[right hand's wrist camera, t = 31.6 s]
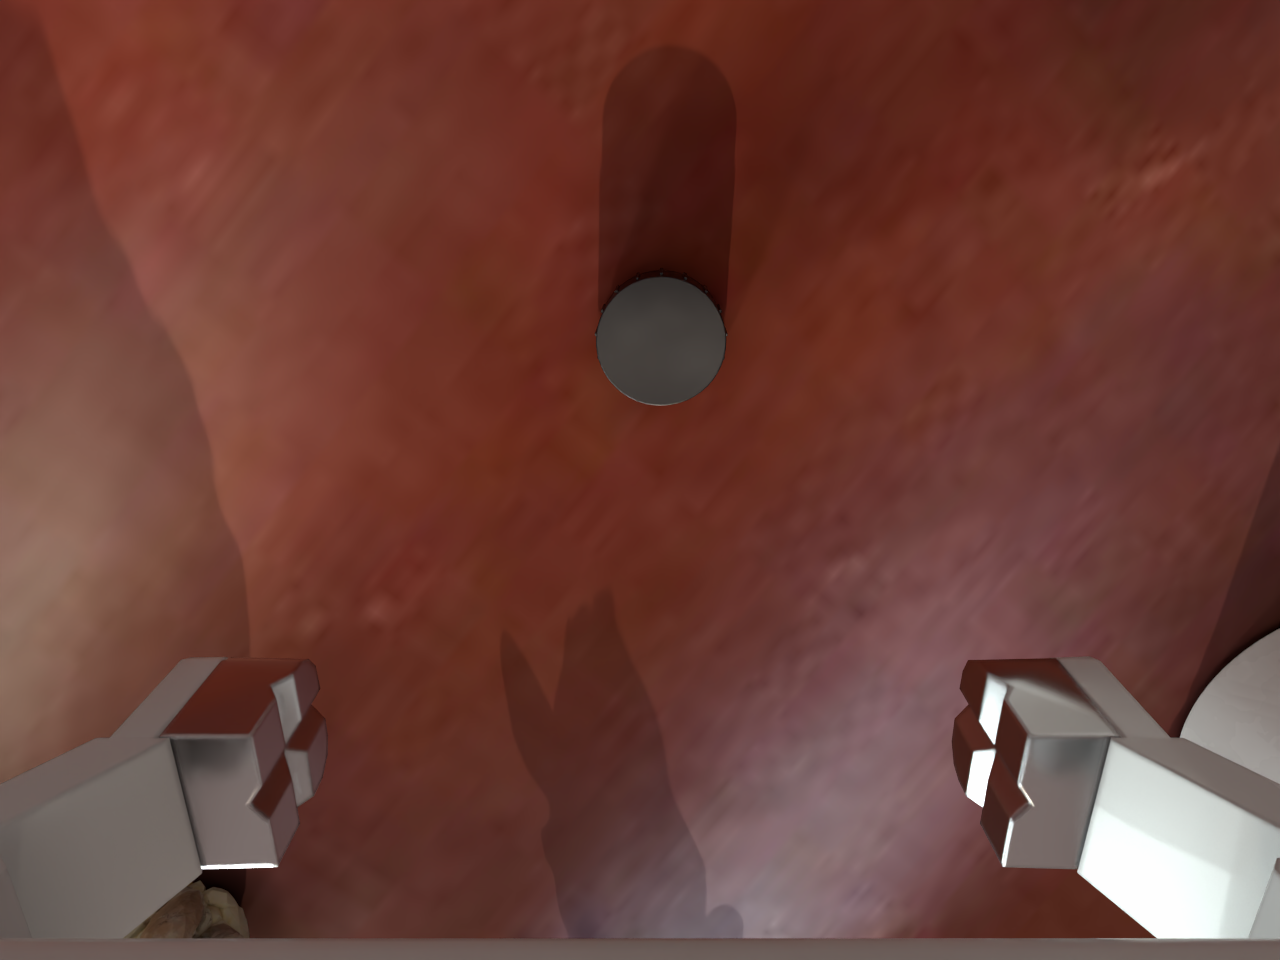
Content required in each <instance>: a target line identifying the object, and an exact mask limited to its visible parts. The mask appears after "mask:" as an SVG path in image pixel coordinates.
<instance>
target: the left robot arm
mask: <svg viewBox="0 0 1280 960" xmlns="http://www.w3.org/2000/svg"><path fill="white" fill-rule="evenodd" d="M1180 738H1185V739H1187V740H1189V741H1191V742H1193V743H1195V744H1198V745H1200V746H1202V747H1204V748H1206V749H1208V750H1210V751H1212V752H1214V753H1216V754H1218V755H1220V756H1222V757H1224V758H1227V759H1229V760H1231V761H1233V762H1235V763H1237V764H1239V765H1241V766H1243V767H1245V768H1247V769H1249V770H1251V771H1253V772H1256V773H1258V774H1260V775H1262V776H1264V777H1266V778H1268V779H1270V780H1272V781H1274V782H1276V783H1278V784H1280V629H1278V630H1276V631H1274V632H1272V633H1270V634H1269V635H1267V636H1265V637H1264V638H1262V639H1260V640H1259V641H1257V642H1256V643H1254V644H1253V645H1251V646H1250V647H1248V648H1247V649H1246V650H1244V651H1243V652H1242V653H1240V654H1239V655H1238V656H1237V657H1235V658H1234V659H1233V660H1232V661H1231V662H1230V663H1229V664H1228V665H1226V666H1225V667H1224V668H1223V669H1222V670H1221V671H1220V672H1219V673H1218V674H1217V675H1216V676H1215V678H1214V679H1213V680H1212V681H1211V682H1210V683H1209V684H1208V686H1207V687H1206V688H1205V690H1204V691H1203V692H1202V693H1201V695H1200V696H1199V698H1198V699H1197V701H1196V702H1195V704H1194V706H1193V708H1192V709H1191V711H1190V713H1189V715H1188V717H1187V719H1186V721H1185V724H1184V726H1183V729H1182V732H1181V735H1180Z"/></svg>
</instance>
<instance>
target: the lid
mask: <svg viewBox="0 0 1280 960" xmlns="http://www.w3.org/2000/svg"><path fill="white" fill-rule="evenodd" d="M601 312H602V316H601V318H600V321H599V324H598V327H597V330H596V332H595V336H596V347H597V354H598V359H599V362H600V364H601V367H602V369H603V371H604V373H605V374H606V376H607V378H608V379H609V380H610V381H611V383H612V384H613V385H614V386H615V387H616V388H617V389H618V390H619V391H621V392H622V393H623V394H625V395H626V396H628V397H630V398H632V399H634V400H636V401H638V402H642V403H645V404H650V405H672V404H676V403H680V402H683V401H686V400H688V399H690V398H692V397H694V396H696V395H697V394H699V393H700V392H701V391H703V390H704V389H705V388H706V387H707V386H708V385H709V384H710V383H711V381H712V380H713V379H714V377H715V376H716V374H717V373H718V371H719V369H720V367H721V365H722V362H723V360H724V358H725V357H724V355H725V350H726V336H727V331H726V328H725V327H724V323H723V320H722V317H721V314H720V313H721V312H722V311H721V308H720V305H719V304H716V302H715V300H714V299H713V297H712V296H711V295H710V293H709V292H708V290H707V287H706V286H705V285H704V286H702V285H701V284H699V283H698V282H697V281H695V280H694V279H692V278H690V277H688V276H687V274H686V273H683V274H681V273H677V272H673V271H663V268H660V270H658V271H650V272H646V273H642V274H640V273H637V274H636V276H635V277H633V278H631V279H629V280H628V281H626V282H625V283H624V284H622V285H621V286H619V285H618V286H617V287H616V290H615V292H614V293H613V295H612V296H611V297H610V299H609V300H608V302H607V304H604V305H603V307H602V310H601Z"/></svg>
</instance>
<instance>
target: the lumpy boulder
mask: <svg viewBox="0 0 1280 960" xmlns="http://www.w3.org/2000/svg"><path fill="white" fill-rule="evenodd" d="M124 938H249V929H248V924H247V919H246V918H245V914H244V911H243V908H241V907H239V906H238V904H237V902H236V901H235V899H234V898H233V897H232V895H231V894H230V893H229V892H228V891H226V890H223V889H221V888H216V887H212V888H210V889H208V890H206V887H205V886H204V885H203V883H202V882H201V881H198V882H195V883H192V882H191V883H190V884H189V885H187V886H186V887H185V888H184V889H182V890H181V891H180V892H179V893H178V894H176V895H175V896H174V897H173V898H171V899H170V900H169V901H168V902H167V903H165V904H164V905H163V906H162V907H160V908H159V909H158V910H157V911H156V912H154V913H153V914H152V915H151V916H149V917H148V918H147V919H146V920H145V921H143V922H142V923H141V924H140V925H139V926H137V927H136V928H135V929H134V930H132V931H131V932H130V933H129V934H128V935H126V936H125V937H124Z"/></svg>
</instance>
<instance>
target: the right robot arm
mask: <svg viewBox="0 0 1280 960" xmlns="http://www.w3.org/2000/svg"><path fill="white" fill-rule="evenodd" d="M319 690H320V685H319V680H318V675H317V670H316V666H315V665H314V664H313V663H312V662H311V661H310V660H309V659H290V658H241V657H231V658H227V657H191V658H187V659H183V660H181V661H180V662H179V663H178V664H177V665H176V666H175V667H174V668H173V669H172V670H171V671H170V672H169V674H168V675H167V676H166V677H165V678H164V679H163V680H162V681H161V682H160V683H159V684H158V686H157V687H156V688H155V689H154V690H153V691H152V692H151V693H150V694H149V695H148V696H147V698H146V699H145V700H144V701H143V702H142V703H141V704H140V705H139V706H138V707H137V708H136V709H135V711H134V712H133V713H132V714H131V715H130V716H129V717H128V718H127V719H126V720H125V721H124V723H123V724H122V725H121V726H120V727H119V728H118V729H117V730H116V731H115V732H114V733H113V735H112V736H111V737H110V738H95V739H93V740H91V741H89V742H87V743H85V744H82V745H80V746H78V747H76V748H74V749H72V750H70V751H68V752H66V753H64V754H62V755H60V756H57V757H55V758H53V759H51V760H49V761H47V762H45V763H43V764H41V765H39V766H37V767H35V768H33V769H30V770H28V771H26V772H24V773H22V774H20V775H18V776H16V777H14V778H12V779H10V780H8V781H6V782H3V783H1V784H0V960H1280V784H1278V783H1276V782H1274V781H1272V780H1270V779H1268V778H1266V777H1264V776H1262V775H1260V774H1258V773H1256V772H1253V771H1251V770H1249V769H1247V768H1245V767H1243V766H1241V765H1239V764H1237V763H1235V762H1233V761H1231V760H1229V759H1227V758H1224V757H1222V756H1220V755H1218V754H1216V753H1214V752H1212V751H1210V750H1208V749H1206V748H1204V747H1202V746H1200V745H1198V744H1195V743H1193V742H1191V741H1189V740H1187V739H1185V738H1170V737H1169V736H1168V735H1167V734H1166V732H1165V731H1164V730H1163V729H1162V728H1161V727H1160V726H1159V725H1158V724H1157V723H1156V721H1155V720H1154V719H1153V718H1152V717H1151V716H1150V715H1149V714H1148V713H1147V712H1146V711H1145V709H1144V708H1143V707H1142V706H1141V705H1140V704H1139V703H1138V702H1137V701H1136V700H1135V699H1134V697H1133V696H1132V695H1131V694H1130V693H1129V692H1128V691H1127V690H1126V689H1125V688H1124V687H1123V685H1122V684H1121V683H1120V682H1119V681H1118V680H1117V679H1116V678H1115V677H1114V676H1113V675H1112V673H1111V672H1110V671H1109V670H1108V669H1107V668H1106V667H1105V666H1104V665H1103V664H1102V663H1101V661H1099V660H1097V659H1094V658H1092V657H1090V656H1089V657H1061V658H1046V659H999V660H968V662H967V664H966V666H965V668H964V670H963V673H962V679H961V684H960V690H961V692H962V693H963V695H964V697H965V699H966V700H967V702H968V704H969V705H968V706H967V707H966V708H965V709H964V710H963V711H962V712H961V713H960V714H959V715H958V716H957V717H956V718H955V720H954V728H953V736H952V749H953V760H954V766H955V770H956V773H957V777H958V780H959V782H960V784H961V786H962V788H963V790H964V792H965V795H966V796H967V797H969V798H970V799H972V800H973V801H975V802H976V803H977V804H979V805H980V806H982V807H983V810H982V815H981V821H980V824H981V826H982V828H983V830H984V832H985V834H986V836H987V838H988V840H989V842H990V843H991V845H992V847H993V849H994V851H995V853H996V855H997V857H998V859H999V861H1000V863H1001V865H1002V867H1019V868H1055V869H1078V872H1077V873H1078V874H1080V875H1081V876H1082V877H1083V878H1085V879H1086V880H1087V881H1088V882H1089V883H1091V884H1092V885H1093V886H1094V887H1095V888H1097V889H1098V890H1099V891H1100V892H1102V893H1103V894H1104V895H1105V896H1106V897H1108V898H1109V899H1110V900H1111V901H1113V902H1114V903H1115V904H1116V905H1117V906H1119V907H1120V908H1121V909H1122V910H1123V911H1125V912H1126V913H1127V914H1128V915H1130V916H1131V917H1132V918H1133V919H1134V920H1136V921H1137V922H1138V923H1139V924H1141V925H1142V926H1143V927H1144V928H1145V929H1147V930H1148V931H1149V932H1150V933H1151V934H1153V935H1154V936H1155V937H1156V938H892V939H544V938H124V937H125V936H126V935H128V934H129V933H130V932H131V931H132V930H134V929H135V928H136V927H137V926H139V925H140V924H141V923H142V922H143V921H145V920H146V919H147V918H148V917H149V916H151V915H152V914H153V913H154V912H156V911H157V910H158V909H159V908H160V907H162V906H163V905H164V904H165V903H167V902H168V901H169V900H170V899H171V898H173V897H174V896H175V895H176V894H178V893H179V892H180V891H181V890H182V889H184V888H185V887H186V886H187V885H189V884H190V883H191V882H192V881H193V880H195V879H196V878H197V877H198V876H199V875H201V874H202V869H224V868H259V867H278V865H279V863H280V861H281V859H282V857H283V855H284V853H285V851H286V849H287V847H288V845H289V843H290V842H291V840H292V838H293V836H294V834H295V832H296V830H297V828H298V826H299V824H300V821H299V815H298V810H297V807H298V806H300V805H301V804H303V803H304V802H305V801H307V800H308V799H310V798H311V797H313V796H314V794H315V792H316V790H317V788H318V786H319V784H320V782H321V780H322V778H323V773H324V769H325V764H326V759H327V755H328V734H327V727H326V720H325V718H324V717H323V716H322V715H321V714H320V713H319V712H318V711H317V710H316V709H315V708H314V707H313V706H312V705H311V704H312V702H313V700H314V698H315V697H316V695H317V693H318V692H319Z"/></svg>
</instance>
